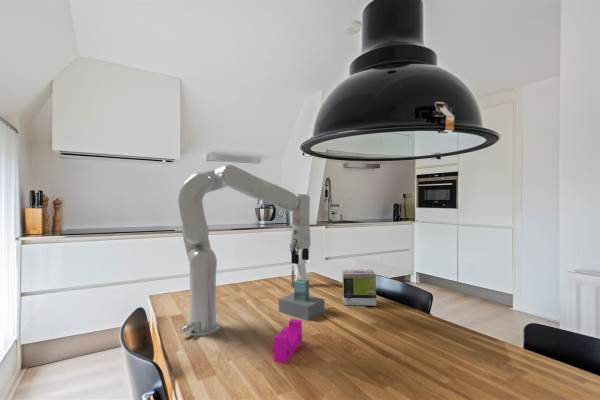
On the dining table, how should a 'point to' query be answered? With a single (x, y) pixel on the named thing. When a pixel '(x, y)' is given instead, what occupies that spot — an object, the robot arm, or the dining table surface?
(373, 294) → the tea box
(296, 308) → the plinth
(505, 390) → the dining table surface
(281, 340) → the toy block
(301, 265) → the skyscraper
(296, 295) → the teal block
